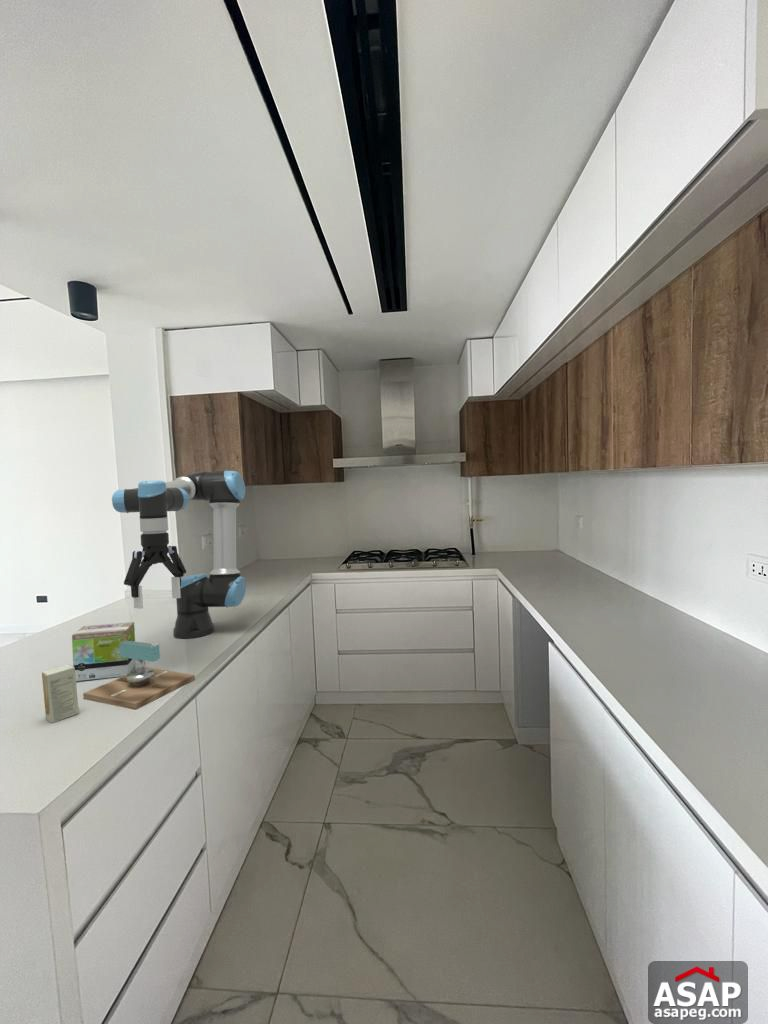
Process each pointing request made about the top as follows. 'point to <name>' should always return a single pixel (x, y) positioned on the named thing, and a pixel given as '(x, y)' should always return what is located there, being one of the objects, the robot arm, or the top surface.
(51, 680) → the skincare box
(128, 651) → the teal lever handle
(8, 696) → the top surface
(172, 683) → the post base
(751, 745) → the top surface
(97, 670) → the tea box
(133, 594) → the robot arm
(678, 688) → the top surface
